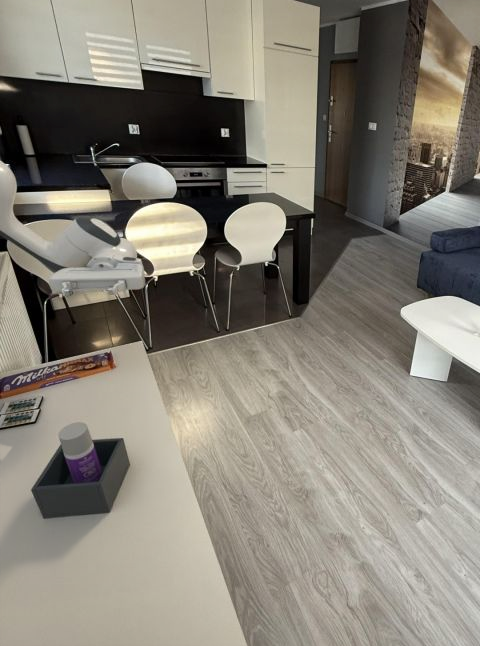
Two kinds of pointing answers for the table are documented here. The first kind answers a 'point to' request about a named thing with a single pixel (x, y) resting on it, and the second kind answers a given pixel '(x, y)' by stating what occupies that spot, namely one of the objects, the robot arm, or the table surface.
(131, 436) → the table surface
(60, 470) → the bin
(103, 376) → the table surface
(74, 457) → the container
